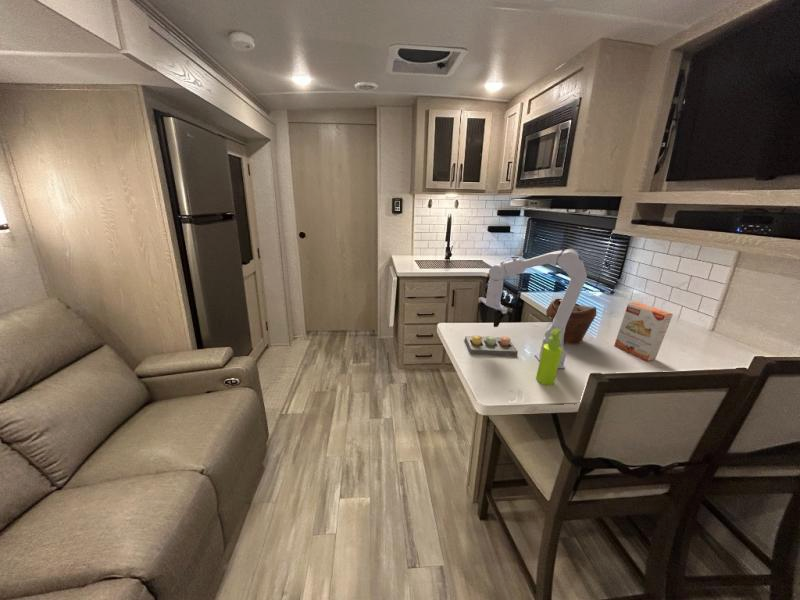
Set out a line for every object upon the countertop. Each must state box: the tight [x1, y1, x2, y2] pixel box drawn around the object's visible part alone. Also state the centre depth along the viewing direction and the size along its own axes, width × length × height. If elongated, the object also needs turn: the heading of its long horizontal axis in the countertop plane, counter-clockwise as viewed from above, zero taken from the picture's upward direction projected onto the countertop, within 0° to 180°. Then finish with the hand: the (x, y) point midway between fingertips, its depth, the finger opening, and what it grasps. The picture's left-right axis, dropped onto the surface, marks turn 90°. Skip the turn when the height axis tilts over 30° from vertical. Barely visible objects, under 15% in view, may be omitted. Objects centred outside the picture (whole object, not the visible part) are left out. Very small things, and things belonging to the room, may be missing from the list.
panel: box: [464, 335, 519, 357], centre depth 128 cm, size 12×19×2 cm, turn 90°
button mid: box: [486, 335, 496, 346], centre depth 127 cm, size 4×4×3 cm
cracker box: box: [613, 301, 673, 362], centre depth 127 cm, size 14×6×21 cm, turn 23°
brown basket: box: [545, 298, 597, 345], centre depth 138 cm, size 18×20×18 cm
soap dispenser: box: [535, 328, 562, 386], centre depth 104 cm, size 6×7×20 cm
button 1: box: [471, 334, 483, 346], centre depth 127 cm, size 4×4×3 cm
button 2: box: [500, 336, 511, 347], centre depth 127 cm, size 4×4×3 cm
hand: (489, 323), depth 129 cm, fingers open, 7 cm apart
